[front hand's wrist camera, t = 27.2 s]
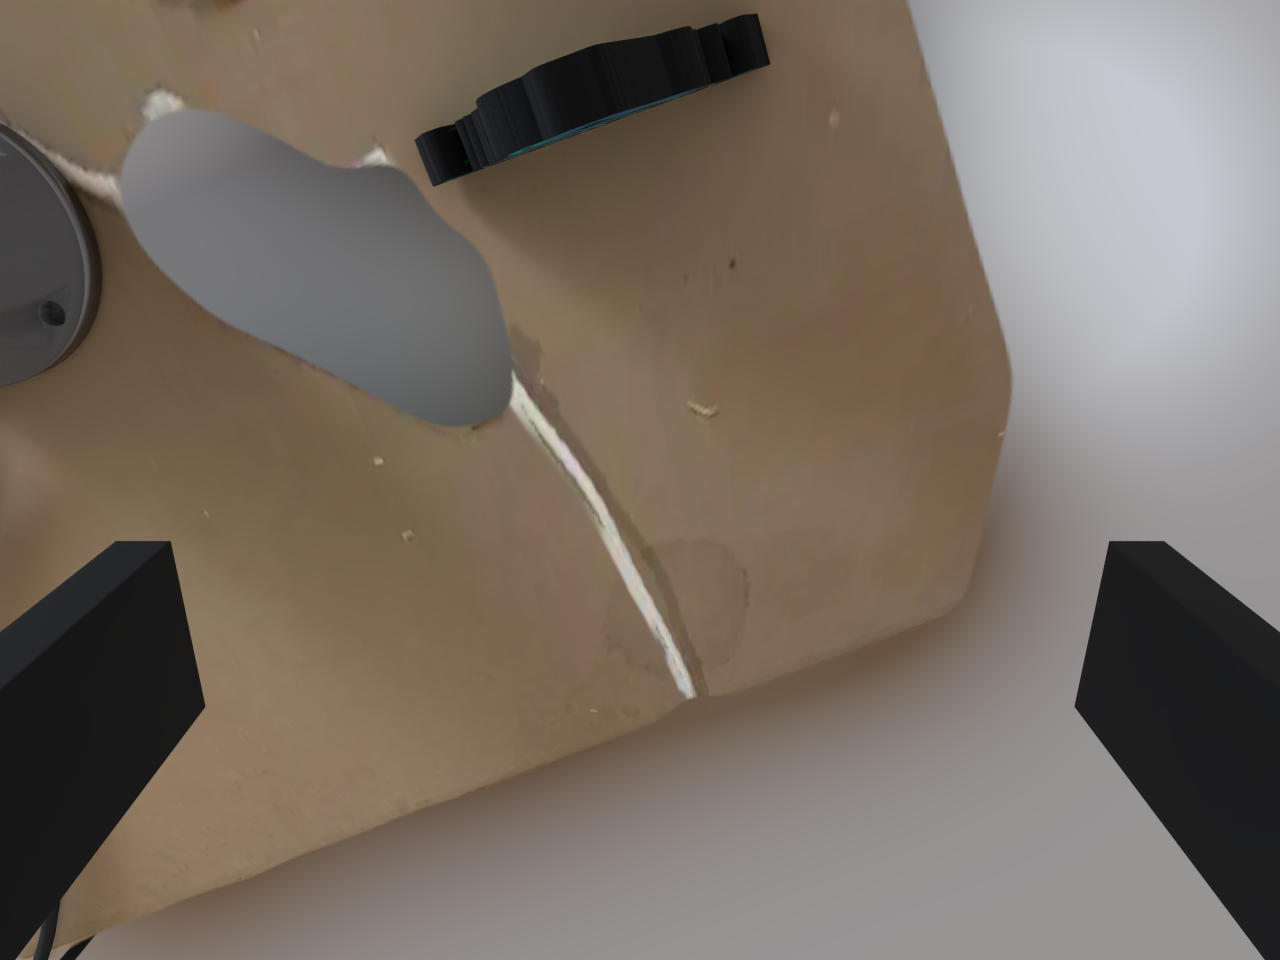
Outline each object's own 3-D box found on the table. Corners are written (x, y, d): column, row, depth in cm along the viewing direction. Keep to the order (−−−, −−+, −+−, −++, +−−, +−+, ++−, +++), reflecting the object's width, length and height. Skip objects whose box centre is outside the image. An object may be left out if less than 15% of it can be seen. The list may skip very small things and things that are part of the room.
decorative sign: (755, 15, 46) (806, -35, 32) (768, 65, 47) (823, 37, 33) (417, 140, 48) (326, 145, 34) (435, 185, 49) (354, 208, 35)
